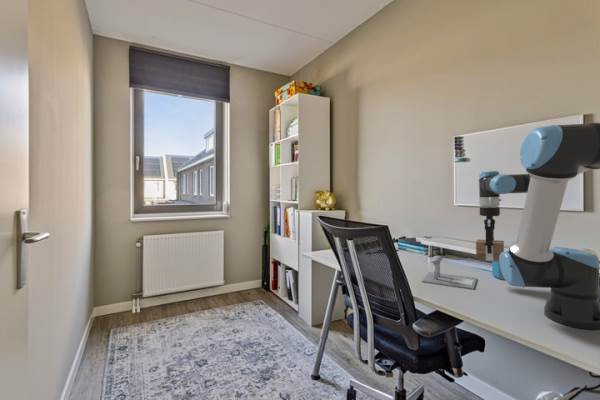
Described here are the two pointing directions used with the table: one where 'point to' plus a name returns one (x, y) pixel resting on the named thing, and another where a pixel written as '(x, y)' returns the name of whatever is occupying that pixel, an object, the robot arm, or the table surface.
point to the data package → (496, 270)
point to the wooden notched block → (481, 249)
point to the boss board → (448, 277)
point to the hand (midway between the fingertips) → (490, 258)
